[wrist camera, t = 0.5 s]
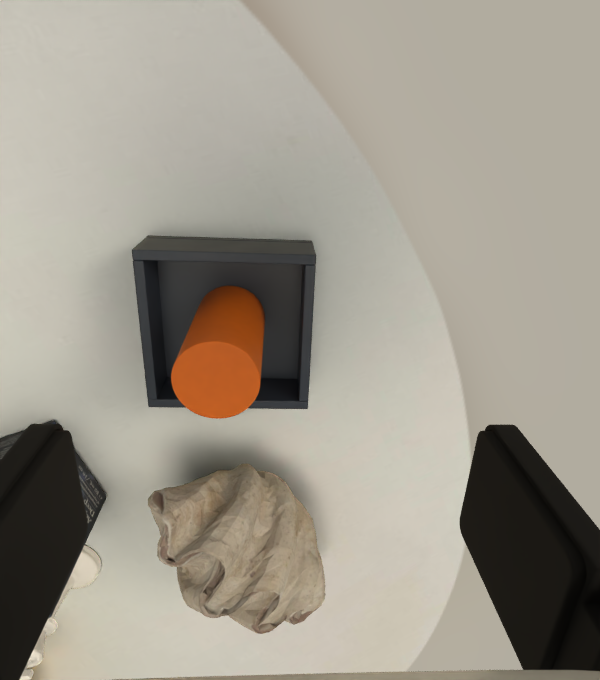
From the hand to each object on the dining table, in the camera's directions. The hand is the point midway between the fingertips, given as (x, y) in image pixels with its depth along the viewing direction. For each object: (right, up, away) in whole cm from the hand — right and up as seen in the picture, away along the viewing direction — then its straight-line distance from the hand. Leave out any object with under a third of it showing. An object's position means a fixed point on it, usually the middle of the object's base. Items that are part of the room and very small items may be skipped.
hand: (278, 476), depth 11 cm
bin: (-4, +5, +21) cm, 22 cm away
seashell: (-4, -10, +28) cm, 30 cm away
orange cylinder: (-4, +5, +20) cm, 21 cm away
